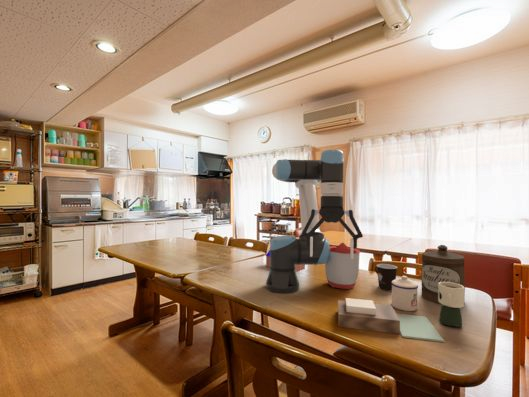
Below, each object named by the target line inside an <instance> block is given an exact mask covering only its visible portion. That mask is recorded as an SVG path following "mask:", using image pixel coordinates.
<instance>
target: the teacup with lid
mask: <svg viewBox="0 0 529 397" xmlns="http://www.w3.org/2000/svg"><path fill="white" fill-rule="evenodd" d="M391 284H392V291H391V305H392V307H393V308H395V309H396V310H400V311H404V312H415V311H417V310H418V289H419V284H418V283H417V282H414V281H413V280H411V279H409V278H408V276H406V275H402V276H401V277H399V278H396V279H395V280H393V281H392V282H391Z"/></svg>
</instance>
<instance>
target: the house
mask: <svg viewBox="0 0 529 397" xmlns="http://www.w3.org/2000/svg"><path fill="white" fill-rule="evenodd" d="M265 258H266V263H265V264H266V266H267V267H266V268H269V267H270V249H269V250H268V252H267V253H266V255H265ZM305 268H306V265H296V266H295V271H296V273H298V272H300V270H301V271H303V270H305Z"/></svg>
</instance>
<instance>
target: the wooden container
mask: <svg viewBox="0 0 529 397" xmlns="http://www.w3.org/2000/svg"><path fill="white" fill-rule="evenodd" d="M437 249H438V250H437V251H435V250H434V251H432V250H431V251H423V252H422V254H421V260H422V263H421V264H422V266H421V296H422V298H424V299H425V300H427V301H430V302H433V303H436V304H441V303H440V302H438V283H439V282H452V283H457V284H460V285H462V286H464V301H466V300H465V291H466V289H465V288H466V287H465V286H466V285H465V284H466V280H465V278H466V277H465V256H463V255H461V254H458V253H455V252H449V251H447V250H448V246H446V245H444V244H440V245H438V246H437ZM441 305H442V304H441Z"/></svg>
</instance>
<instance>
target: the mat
mask: <svg viewBox="0 0 529 397" xmlns="http://www.w3.org/2000/svg"><path fill="white" fill-rule="evenodd" d="M396 314H397V316H398V318H399V320H400V335H401V337H402V338H405V339H413V340H422V341H423V340H424V341H432V342H441V343H445V339H443V337H442V336H441V335H440V333H439V332H438V331H437V329H436V328H435V326H434V325H433V324H432V322H431V321H430V320H429V319H428V318H427V317H426V316H423V315H415V314H414V315H412V314H406V313H405V314H401V313H396Z"/></svg>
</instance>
